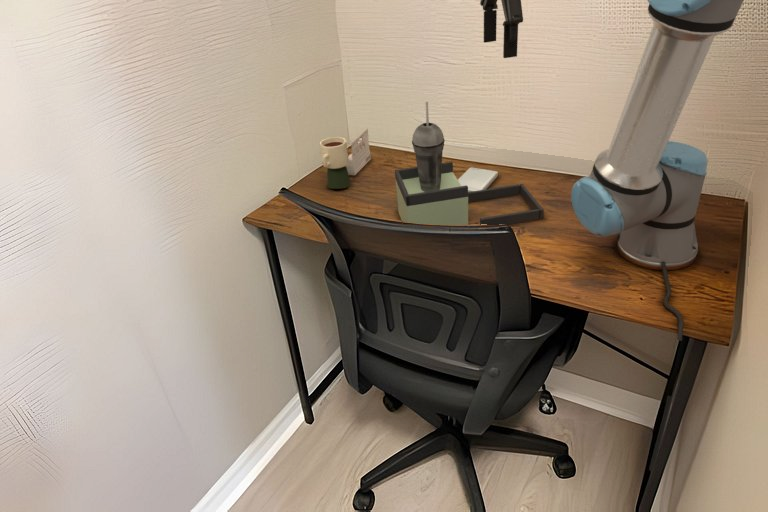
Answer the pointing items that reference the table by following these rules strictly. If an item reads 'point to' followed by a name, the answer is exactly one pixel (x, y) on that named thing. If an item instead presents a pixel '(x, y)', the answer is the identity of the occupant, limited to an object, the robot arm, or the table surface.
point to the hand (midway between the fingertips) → (499, 49)
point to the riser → (454, 200)
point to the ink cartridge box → (359, 154)
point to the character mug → (335, 161)
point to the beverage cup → (428, 154)
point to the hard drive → (477, 179)
